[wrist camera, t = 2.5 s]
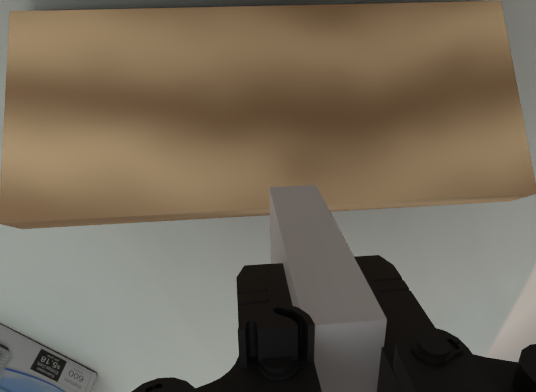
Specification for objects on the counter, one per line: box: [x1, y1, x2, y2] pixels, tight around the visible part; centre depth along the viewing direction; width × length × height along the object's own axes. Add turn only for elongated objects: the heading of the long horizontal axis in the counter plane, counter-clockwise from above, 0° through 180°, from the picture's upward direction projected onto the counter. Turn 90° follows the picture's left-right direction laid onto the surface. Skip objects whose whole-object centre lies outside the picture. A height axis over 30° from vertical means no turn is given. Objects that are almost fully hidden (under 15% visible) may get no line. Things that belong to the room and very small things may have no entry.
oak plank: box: [0, 1, 536, 229], centre depth 21 cm, size 10×24×2 cm
